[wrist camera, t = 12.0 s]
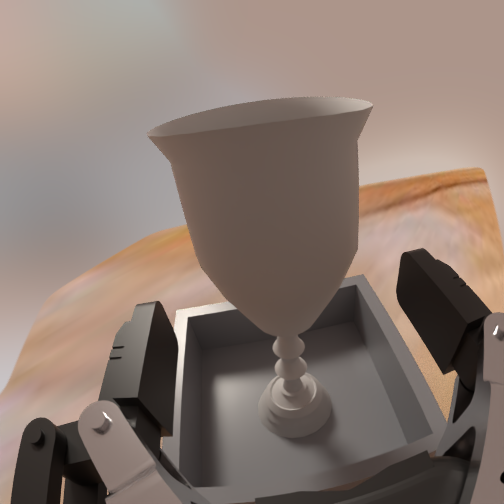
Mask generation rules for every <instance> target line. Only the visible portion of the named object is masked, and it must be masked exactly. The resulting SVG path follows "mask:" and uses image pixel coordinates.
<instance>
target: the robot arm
mask: <svg viewBox="0 0 504 504" xmlns="http://www.w3.org/2000/svg"><path fill="white" fill-rule="evenodd" d="M396 294H397V299H398V302H399V305H400V306H401V308H402V309H403V311H404V312H405V314H406V315H407V317H408V318H409V320H410V321H411V323H412V325H413V326H414V328H415V329H416V331H417V332H418V334H419V335H420V337H421V339H422V340H423V342H424V343H425V345H426V347H427V348H428V350H429V352H430V353H431V355H432V357H433V358H434V360H435V362H436V363H437V365H438V367H439V368H440V370H441V372H442V373H443V375H444V374H447V373H449V372H451V371H453V370H455V371H456V372H457V374H458V375H457V376H456V379H455V384H454V390H453V396H452V402H451V408H450V413H449V418H448V423H447V427H446V430H445V432H444V435H443V437H442V438H441V440H440V442H439V445H438V447H437V450H436V453H435V456H434V457H430V456H429V453H428V451H427V450H426V451H424V452H421V453H419V454H417V455H415V456H412V457H410V458H408V459H405V460H403V461H400V462H398V463H395V464H393V465H390V466H388V467H387V468H385V469H384V470H382V471H381V472H379V473H377V474H376V475H374V476H373V477H371V478H369V479H368V480H366V481H364V482H363V483H361V484H359V485H357V486H356V487H354V488H352V489H349V490H341V491H298V492H293V493H287V494H281V495H275V496H268V497H260V498H255V504H504V313H500V312H497V313H492V312H491V311H490V310H489V309H488V308H487V306H486V305H485V304H484V303H483V302H482V301H481V299H480V298H479V297H478V296H477V295H476V294H475V293H474V292H473V290H472V289H471V288H470V287H469V286H468V285H467V286H466V283H465V282H464V281H463V279H462V278H459V275H458V274H457V273H456V272H455V271H454V270H453V269H452V268H451V267H450V266H449V265H447V264H445V263H443V262H441V261H440V260H438V259H437V260H435V259H434V258H433V257H432V256H431V255H430V253H429V252H428V251H427V250H425V249H424V248H421V249H416V250H412V251H408V252H404V253H403V254H402V256H401V260H400V268H399V275H398V281H397V288H396ZM112 347H113V349H112V350H111V353H110V357H109V358H110V360H108V364H107V368H106V372H105V375H104V379H103V383H102V387H101V391H100V395H99V399H98V401H97V402H94V403H92V404H90V405H89V406H88V407H87V408H86V409H85V410H84V411H83V412H82V414H81V415H80V418H79V420H78V421H75V422H71V423H68V424H64V425H60V426H56V425H54V424H53V423H52V422H51V421H50V420H48V419H46V418H36V419H34V420H33V421H31V422H30V423H29V424H28V425H27V426H26V428H25V430H24V432H23V435H22V439H21V444H20V448H19V453H18V458H17V463H16V469H15V475H14V481H13V488H12V496H11V504H60V496H61V485H62V476H63V477H64V478H65V488H64V500H63V504H211V503H210V502H209V501H208V500H207V499H206V498H204V497H203V496H202V495H201V494H200V493H199V492H198V491H197V490H196V489H195V488H194V487H193V486H192V485H191V484H190V483H189V482H188V481H187V479H186V478H185V477H184V476H183V475H182V474H181V472H180V471H179V470H178V469H177V468H176V466H175V465H174V464H173V463H172V462H171V460H170V459H169V458H168V457H167V455H166V454H165V453H164V451H163V450H162V449H161V448H160V440H161V437H173V421H174V403H175V389H176V375H177V363H178V352H179V348H178V341H177V337H176V334H175V332H174V330H173V327H172V325H171V323H170V321H169V319H168V317H167V315H166V312H165V310H164V308H163V306H162V304H161V303H160V302H159V301H155V302H149V303H143V304H137V305H136V306H135V309H134V312H133V316H132V319H131V321H129V322H125V323H124V324H123V325H122V327H121V328H120V329H119V331H118V332H117V334H116V336H115V340H114V343H113V346H112ZM107 489H108V492H109V494H108V495H107Z"/></svg>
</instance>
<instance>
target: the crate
mask: <svg viewBox="0 0 504 504" xmlns="http://www.w3.org/2000/svg"><path fill="white" fill-rule="evenodd" d="M174 332H175V334H176V337H177V341H178V348H179V352H178V363H177V375H176V389H175V403H174V421H173V437H163V446H162V450H163V451H164V453H165V454H166V455H167V457H168V458H169V459H170V460H171V462H172V463H173V464H174V465H175V466H176V468H177V469H178V470H179V471H180V472H181V474H182V475H183V476H184V477H185V478H186V479H187V481H188V482H189V483H190V484H191V485H192V486H193V487H194V488H195V489H196V490H197V491H198V492H199V493H200V494H201V495H202V496H203V497H204V498H206V499H207V500H208V501H209V502H210V503H211V504H255V498H260V497H268V496H275V495H281V494H287V493H293V492H298V491H341V490H349V489H352V488H354V487H356V486H357V485H359V484H361V483H363V482H364V481H366V480H368V479H369V478H371V477H373V476H374V475H376V474H377V473H379V472H381V471H382V470H384V469H385V468H387V467H388V466H390V465H393V464H395V463H398V462H400V461H403V460H405V459H408V458H410V457H412V456H415V455H417V454H419V453H421V452H424V451H426V450H427V451H428V453H429V456H430V457H434V456H435V453H436V450H437V447H438V445H439V442H440V440H441V438H442V437H443V435H444V432H445V430H446V427H447V422H446V420H445V418H444V416H443V414H442V412H441V410H440V408H439V405H438V403H437V401H436V399H435V397H434V396H433V394H432V392H431V390H430V388H429V386H428V384H427V382H426V380H425V378H424V376H423V374H422V373H421V371H420V369H419V367H418V365H417V363H416V361H415V360H414V358H413V356H412V354H411V352H410V351H409V349H408V347H407V345H406V344H405V342H404V340H403V338H402V337H401V335H400V333H399V331H398V330H397V328H396V326H395V325H394V323H393V321H392V320H391V318H390V316H389V315H388V313H387V311H386V310H385V308H384V306H383V305H382V303H381V302H380V300H379V298H378V297H377V295H376V293H375V292H374V290H373V289H372V287H371V286H370V284H369V282H368V281H367V279H366V278H365V276H364V275H363V274H362V275H358V276H353V277H349V278H344V280H343V282H342V284H341V286H340V288H339V289H338V291H337V292H336V294H335V295H334V296H333V298H332V299H331V301H330V302H329V303H328V305H327V306H326V307H325V309H324V310H323V311H322V313H321V314H320V315H319V317H318V318H317V319H316V321H315V322H314V323H313V325H312V326H311V327H310V328H309V329H307V330H306V331H304V332H303V333H300V334H297V335H298V337H299V338H300V339H301V340H302V341H303V342H304V345H305V348H304V351H303V353H302V354H301V355H300V356H299V357H301V358H302V359H303V360H304V361H305V362H306V364H307V370H306V373H308V374H311V375H312V376H314V377H315V378H316V379H317V380H318V381H319V382H320V383H321V384H322V385H323V386H324V387H325V388H326V390H327V391H328V393H329V395H330V397H331V402H332V409H331V413H330V416H329V418H328V420H327V421H326V423H325V424H324V425H323V426H322V427H321V428H320V429H318V430H317V431H316V432H314V433H312V434H310V435H307V436H305V437H298V438H287V437H282V436H278V435H276V434H274V433H273V432H271V431H269V430H268V429H267V428H266V427H265V426H264V425H263V424H262V422H261V420H260V417H259V415H258V403H259V400H260V397H261V395H262V394H263V392H264V390H265V389H266V388H267V385H268V384H269V383H270V382H271V380H272V379H274V378H275V377H276V376H278V375H277V374H276V372H275V365H276V363H277V361H278V360H279V359H281V358H280V357H278V356H277V355H276V354H275V353H274V351H273V344H274V342H275V341H276V340H277V336H272V335H270V334H267V333H265V332H263V331H262V330H261V329H260V328H258V327H257V326H256V325H255V324H254V323H253V322H251V321H250V320H249V319H248V318H247V317H246V316H245V315H244V314H242V313H241V312H240V311H239V310H238V309H237V308H236V307H235V306H233V305H232V304H231V303H230V302H223V303H217V304H211V305H205V306H199V307H193V308H187V309H181V310H176V318H175V325H174Z"/></svg>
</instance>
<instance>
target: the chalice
mask: <svg viewBox="0 0 504 504" xmlns="http://www.w3.org/2000/svg"><path fill="white" fill-rule="evenodd" d="M372 108H373V105H372V103H371V102H368V101H364V100H360V99H352V98H341V97H298V98H282V99H271V100H263V101H256V102H248V103H242V104H236V105H231V106H226V107H220V108H216V109H212V110H207V111H203V112H200V113H195V114H192V115H188V116H185V117H182V118H179V119H175V120H172V121H170V122H167V123H165V124H162V125H160V126H157V127H155V128H154V129H152V130H150V131H149V132H147V136H148V137H149V138H150V139H151V140H152V142H153V143H154V144H155V145H156V146H157V147H158V148H159V150H160V151H161V152H162V153H163V154H164V155H165V156H166V158H167V159H168V160H169V161H170V163H171V167H172V171H173V174H174V178H175V182H176V186H177V190H178V193H179V197H180V201H181V204H182V208H183V212H184V215H185V219H186V222H187V226H188V229H189V233H190V236H191V240H192V243H193V246H194V250H195V253H196V256H197V258H198V261H199V263H200V266H201V268H202V269H203V270H204V272H205V273H206V274H207V275H208V277H209V278H210V279H211V281H212V282H213V283H214V284H215V286H216V287H217V288H218V289H219V291H220V292H221V293H222V294H223V296H224V297H225V298H226V299H227V300H228V301H229V302H230V303H231V304H232V305H233V306H235V307H236V308H237V309H238V310H239V311H240V312H241V313H242V314H244V315H245V316H246V317H247V318H248V319H249V320H250V321H251V322H253V323H254V324H255V325H256V326H257V327H258V328H260V329H261V330H262V331H263V332H265V333H267V334H270V335H272V336H277V340H276V341H275V342H274V344H273V351H274V353H275V354H276V355H277V356H278V357H280V358H281V359H279V360H278V361H277V363H276V365H275V372H276V374H277V375H278V376H276V377H275V378H274V379H272V380H271V382H270V383H269V384H268V385H267V388H266V389H265V390H264V392H263V394H262V395H261V397H260V400H259V403H258V415H259V417H260V420H261V422H262V424H263V425H264V426H265V427H266V428H267V429H268V430H269V431H271V432H273V433H274V434H276V435H278V436H282V437H287V438H298V437H305V436H307V435H310V434H312V433H314V432H316V431H317V430H318V429H320V428H321V427H322V426H323V425H324V424H325V423H326V421H327V420H328V418H329V416H330V413H331V409H332V402H331V397H330V395H329V393H328V391H327V390H326V388H325V387H324V386H323V385H322V384H321V383H320V382H319V381H318V380H317V379H316V378H315V377H314V376H312V375H311V374H308V373H306V370H307V364H306V362H305V361H304V360H303V359H302V358H301V357H299V356H300V355H301V354H302V353H303V351H304V348H305V345H304V342H303V341H302V340H301V339H300V338H299V337H298V335H297V334H300V333H303V332H304V331H306V330H307V329H309V328H310V327H311V326H312V325H313V323H314V322H315V321H316V319H317V318H318V317H319V315H320V314H321V313H322V311H323V310H324V309H325V307H326V306H327V305H328V303H329V302H330V301H331V299H332V298H333V296H334V295H335V294H336V292H337V291H338V289H339V288H340V286H341V284H342V282H343V280H344V278H345V276H346V273H347V271H348V269H349V267H350V265H351V263H352V261H353V258H354V256H355V254H356V252H357V250H358V224H359V177H358V175H359V174H358V145H357V140H358V138H359V136H360V134H361V132H362V130H363V127H364V125H365V123H366V121H367V119H368V117H369V114H370V112H371V110H372Z"/></svg>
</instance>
